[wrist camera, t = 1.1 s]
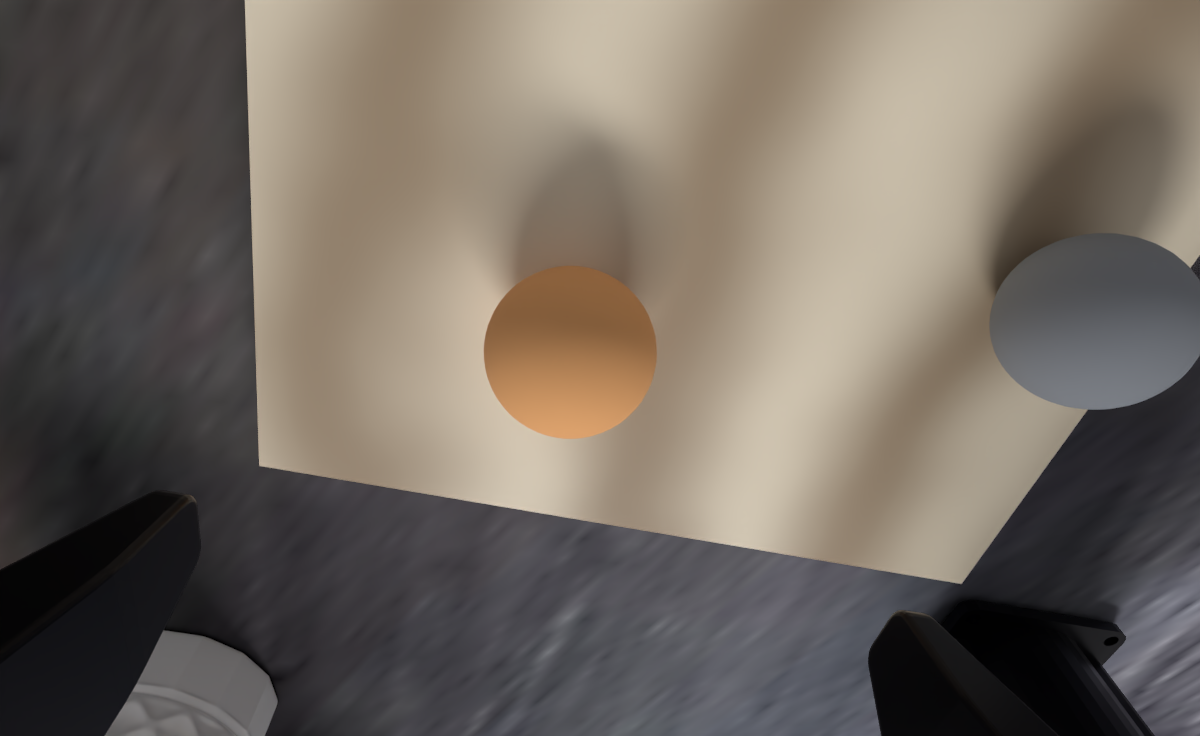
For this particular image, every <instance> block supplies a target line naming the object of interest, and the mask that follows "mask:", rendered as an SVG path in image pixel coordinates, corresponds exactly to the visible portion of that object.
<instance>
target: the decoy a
mask: <svg viewBox="0 0 1200 736" xmlns="http://www.w3.org/2000/svg"><path fill="white" fill-rule="evenodd" d="M989 329H990V338H991V342H992V345H993V349H994V352H995V354H996V356H997V358H998V360H999V362H1000V363H1001V365H1002V366H1003V368H1004V369H1005V370H1006V372H1007V373H1008V374H1009V375H1010V376H1011V377H1012V378H1013V379H1014V380H1015V381H1016V382H1017V383H1018V384H1019V385H1021V386H1022V387H1023V388H1025V389H1026V390H1028V391H1029V392H1031V393H1032V394H1034V395H1036V396H1038V397H1040V398H1042V399H1044V400H1047V401H1049V402H1052V403H1055V404H1058V405H1062V406H1065V407H1071V408H1078V409H1091V410H1103V409H1113V408H1119V407H1124V406H1129V405H1132V404H1136V403H1139V402H1142V401H1144V400H1147V399H1149V398H1151V397H1153V396H1155V395H1157V394H1159V393H1161V392H1163V391H1165V390H1166V389H1168V388H1169V387H1171V386H1172V385H1173V384H1175V383H1176V382H1177V381H1178V380H1180V379H1181V378H1182V377H1183V376H1184V375H1185V374H1186V373H1187V372H1188V371H1189V369H1190V368H1191V367H1192V366H1193V364H1194V363H1195V361H1196V360H1197V359H1198V357H1199V355H1200V280H1199V279H1198V277H1197V276H1196V275H1195V273H1194V272H1193V271H1192V270H1191V268H1190V267H1189V266H1188V265H1187V264H1186V263H1185V262H1184V261H1182V260H1181V259H1180V258H1179V257H1178V256H1176V255H1175V254H1174V253H1172V252H1171V251H1169V250H1167V249H1165V248H1163V247H1162V246H1160V245H1158V244H1156V243H1153V242H1150V241H1147V240H1145V239H1142V238H1139V237H1134V236H1128V235H1123V234H1116V233H1094V234H1084V235H1079V236H1074V237H1070V238H1066V239H1063V240H1060V241H1057V242H1054V243H1052V244H1050V245H1048V246H1045V247H1043V248H1041V249H1040V250H1038V251H1036V252H1034V253H1033V254H1031V255H1030V256H1028V257H1027V258H1025V259H1024V260H1023V261H1022V262H1021V263H1019V264H1018V265H1017V266H1016V267H1015V268H1014V269H1013V270H1012V271H1011V272H1010V274H1009V275H1008V276H1007V277H1006V278H1005V280H1004V281H1003V283H1002V284H1001V286H1000V288H999V290H998V292H997V294H996V296H995V299H994V301H993V304H992V308H991V312H990V321H989Z"/></svg>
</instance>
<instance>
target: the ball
mask: <svg viewBox="0 0 1200 736" xmlns="http://www.w3.org/2000/svg"><path fill="white" fill-rule="evenodd" d="M656 360H657V346H656V337H655V332H654V329H653V325H652V323H651V320H650V317H649V315H648V313H647V311H646V310H645V308H644V306H643V305H642V303H641V302H640V301H639V299H638V298H637V297H636V295H635V294H634V293H633V292H632V291H631V290H630V289H629V288H628V287H626V286H625V285H624V284H623V283H621V282H620V281H619V280H617V279H615V278H613V277H612V276H610V275H608V274H606V273H603V272H601V271H599V270H595V269H592V268H588V267H581V266H559V267H554V268H549V269H545V270H543V271H540V272H537V273H534V274H533V275H531V276H529V277H527V278H525V279H523V280H522V281H521V282H519V283H518V284H516V285H515V286H514V287H513V288H512V289H511V290H510V291H509V292H508V293H507V294H506V295H505V296H504V297H503V299H502V300H501V301H500V302H499V304H498V305H497V307H496V309H495V311H494V312H493V314H492V317H491V319H490V321H489V324H488V327H487V331H486V335H485V341H484V363H485V369H486V374H487V378H488V380H489V383H490V386H491V388H492V390H493V392H494V394H495V396H496V398H497V399H498V401H499V402H500V403H501V405H502V406H503V407H504V408H505V410H506V411H507V412H508V413H509V414H510V415H511V416H512V417H513V418H515V419H516V420H517V421H518V422H520V423H521V424H523V425H524V426H526V427H528V428H530V429H532V430H534V431H536V432H538V433H541V434H543V435H546V436H551V437H555V438H562V439H578V438H585V437H591V436H594V435H597V434H600V433H603V432H605V431H607V430H610V429H612V428H613V427H615V426H617V425H618V424H620V423H621V422H622V421H624V420H625V419H626V418H627V417H628V416H629V415H630V414H631V413H632V412H633V411H634V410H635V409H636V408H637V407H638V406H639V404H640V403H641V402H642V400H643V398H644V397H645V395H646V393H647V391H648V390H649V387H650V385H651V382H652V380H653V376H654V372H655V367H656Z"/></svg>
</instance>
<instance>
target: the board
mask: <svg viewBox="0 0 1200 736" xmlns="http://www.w3.org/2000/svg"><path fill="white" fill-rule="evenodd" d="M245 19H246V52H247V84H248V117H249V149H250V182H251V214H252V247H253V279H254V312H255V344H256V377H257V410H258V442H259V466H264V467H270V468H276V469H282V470H287V471H293V472H299V473H305V474H311V475H317V476H323V477H329V478H335V479H341V480H347V481H353V482H359V483H365V484H371V485H377V486H382V487H388V488H394V489H400V490H406V491H412V492H418V493H424V494H430V495H436V496H442V497H448V498H454V499H460V500H466V501H472V502H477V503H483V504H489V505H495V506H501V507H507V508H513V509H519V510H525V511H531V512H537V513H543V514H549V515H555V516H561V517H567V518H572V519H578V520H584V521H590V522H596V523H602V524H608V525H614V526H620V527H626V528H632V529H638V530H644V531H650V532H656V533H662V534H667V535H673V536H679V537H685V538H691V539H697V540H703V541H709V542H715V543H721V544H727V545H733V546H739V547H745V548H751V549H757V550H762V551H768V552H774V553H780V554H786V555H792V556H798V557H804V558H810V559H816V560H822V561H828V562H834V563H840V564H846V565H852V566H857V567H863V568H869V569H875V570H881V571H887V572H893V573H899V574H905V575H911V576H917V577H923V578H929V579H935V580H941V581H947V582H952V583H958V584H962V583H963V581H964V580H965V579H966V577H967V576H968V574H969V573H970V572H971V570H972V569H973V567H974V566H975V565H976V563H977V562H978V561H979V559H980V558H981V556H982V555H983V554H984V552H985V551H986V550H987V548H988V547H989V545H990V544H991V543H992V541H993V540H994V538H995V537H996V536H997V534H998V533H999V532H1000V530H1001V529H1002V527H1003V526H1004V525H1005V523H1006V522H1007V521H1008V519H1009V518H1010V516H1011V515H1012V514H1013V512H1014V511H1015V509H1016V508H1017V507H1018V505H1019V504H1020V503H1021V501H1022V500H1023V498H1024V497H1025V496H1026V494H1027V493H1028V492H1029V490H1030V489H1031V487H1032V486H1033V485H1034V483H1035V482H1036V480H1037V479H1038V478H1039V476H1040V475H1041V474H1042V472H1043V471H1044V469H1045V468H1046V467H1047V465H1048V464H1049V463H1050V461H1051V460H1052V458H1053V457H1054V456H1055V454H1056V453H1057V451H1058V450H1059V449H1060V447H1061V446H1062V445H1063V443H1064V442H1065V440H1066V439H1067V438H1068V436H1069V435H1070V434H1071V432H1072V431H1073V429H1074V428H1075V427H1076V425H1077V424H1078V422H1079V421H1080V420H1081V418H1082V417H1083V416H1084V414H1085V413H1086V411H1087V410H1088V409H1078V408H1071V407H1065V406H1062V405H1058V404H1055V403H1052V402H1049V401H1047V400H1044V399H1042V398H1040V397H1038V396H1036V395H1034V394H1032V393H1031V392H1029V391H1028V390H1026V389H1025V388H1023V387H1022V386H1021V385H1019V384H1018V383H1017V382H1016V381H1015V380H1014V379H1013V378H1012V377H1011V376H1010V375H1009V374H1008V373H1007V372H1006V370H1005V369H1004V368H1003V366H1002V365H1001V363H1000V362H999V360H998V358H997V356H996V354H995V352H994V349H993V345H992V342H991V338H990V329H989V321H990V312H991V308H992V304H993V301H994V299H995V296H996V294H997V292H998V290H999V288H1000V286H1001V284H1002V283H1003V281H1004V280H1005V278H1006V277H1007V276H1008V275H1009V274H1010V272H1011V271H1012V270H1013V269H1014V268H1015V267H1016V266H1017V265H1018V264H1019V263H1021V262H1022V261H1023V260H1024V259H1025V258H1027V257H1028V256H1030V255H1031V254H1033V253H1034V252H1036V251H1038V250H1040V249H1041V248H1043V247H1045V246H1048V245H1050V244H1052V243H1054V242H1057V241H1060V240H1063V239H1066V238H1070V237H1074V236H1079V235H1084V234H1094V233H1116V234H1123V235H1128V236H1134V237H1139V238H1142V239H1145V240H1147V241H1150V242H1153V243H1156V244H1158V245H1160V246H1162V247H1163V248H1165V249H1167V250H1169V251H1171V252H1172V253H1174V254H1175V255H1176V256H1178V257H1179V258H1180V259H1181V260H1182V261H1184V262H1185V263H1186V264H1187V265H1188V266H1189V267H1190V268H1191V266H1192V265H1193V264H1194V262H1195V261H1196V260H1197V258H1198V257H1199V255H1200V0H245ZM559 266H581V267H588V268H592V269H595V270H599V271H601V272H603V273H606V274H608V275H610V276H612V277H613V278H615V279H617V280H619V281H620V282H621V283H623V284H624V285H625V286H626V287H628V288H629V289H630V290H631V291H632V292H633V293H634V294H635V295H636V297H637V298H638V299H639V301H640V302H641V303H642V305H643V306H644V308H645V310H646V311H647V313H648V315H649V317H650V320H651V323H652V325H653V329H654V332H655V337H656V346H657V360H656V367H655V372H654V376H653V380H652V382H651V385H650V387H649V390H648V391H647V393H646V395H645V397H644V398H643V400H642V402H641V403H640V404H639V406H638V407H637V408H636V409H635V410H634V411H633V412H632V413H631V414H630V415H629V416H628V417H627V418H626V419H625V420H624V421H622V422H621V423H620V424H618V425H617V426H615V427H613V428H612V429H610V430H607V431H605V432H603V433H600V434H597V435H594V436H591V437H585V438H578V439H562V438H555V437H551V436H546V435H543V434H541V433H538V432H536V431H534V430H532V429H530V428H528V427H526V426H524V425H523V424H521V423H520V422H518V421H517V420H516V419H515V418H513V417H512V416H511V415H510V414H509V413H508V412H507V411H506V410H505V408H504V407H503V406H502V405H501V403H500V402H499V401H498V399H497V398H496V396H495V394H494V392H493V390H492V388H491V386H490V383H489V380H488V378H487V374H486V369H485V363H484V341H485V335H486V331H487V327H488V324H489V321H490V319H491V317H492V314H493V312H494V311H495V309H496V307H497V305H498V304H499V302H500V301H501V300H502V299H503V297H504V296H505V295H506V294H507V293H508V292H509V291H510V290H511V289H512V288H513V287H514V286H515V285H516V284H518V283H519V282H521V281H522V280H523V279H525V278H527V277H529V276H531V275H533V274H534V273H537V272H540V271H543V270H545V269H549V268H554V267H559Z"/></svg>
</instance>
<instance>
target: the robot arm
mask: <svg viewBox="0 0 1200 736" xmlns="http://www.w3.org/2000/svg"><path fill="white" fill-rule="evenodd" d="M200 549H201V539H200V529H199V518H198V508H197V502H196V500H195V498H194V497H193V496H191V495H188V494H182V493H176V492H170V491H164V490H157V491H153V492H151V493H148V494H146V495H144V496H142V497H140V498H139V499H137V500H135V501H133V502H131V503H129V504H127V505H125V506H123V507H121V508H119V509H117V510H115V511H113V512H111V513H109V514H107V515H105V516H104V517H102V518H100V519H98V520H96V521H94V522H92V523H90V524H88V525H86V526H84V527H82V528H80V529H78V530H76V531H74V532H72V533H70V534H69V535H67V536H65V537H63V538H61V539H59V540H57V541H55V542H53V543H51V544H49V545H47V546H45V547H43V548H41V549H39V550H37V551H35V552H34V553H32V554H30V555H28V556H26V557H24V558H22V559H20V560H18V561H16V562H14V563H12V564H10V565H8V566H6V567H4V568H2V569H1V570H0V736H105V735H106V733H107V731H108V730H109V728H110V727H111V725H112V723H113V722H114V720H115V719H116V717H117V716H118V714H119V712H120V711H121V709H122V708H123V706H124V704H125V703H126V701H127V699H128V698H129V696H130V694H131V693H132V691H133V689H134V687H135V686H136V684H137V682H138V680H139V678H140V676H141V674H142V672H143V670H144V669H145V667H146V665H147V663H148V661H149V659H150V657H151V655H152V653H153V651H154V649H155V646H156V644H157V642H158V640H159V638H160V636H161V634H162V632H163V630H164V628H165V626H166V624H167V622H168V620H169V618H170V616H171V614H172V612H173V610H174V608H175V606H176V604H177V602H178V600H179V598H180V596H181V594H182V592H183V590H184V588H185V586H186V584H187V582H188V580H189V578H190V576H191V574H192V572H193V570H194V568H195V566H196V563H197V561H198V558H199V554H200ZM1125 640H1126V636H1125V635H1124V634H1123V632H1122V631H1121V630H1120V629H1119V627H1118V626H1117V625H1116V624H1113V623H1109V622H1103V621H1097V620H1091V619H1085V618H1079V617H1073V616H1067V615H1061V614H1055V613H1049V612H1043V611H1037V610H1031V609H1025V608H1019V607H1013V606H1006V605H1000V604H994V603H988V602H982V601H976V600H968V601H964V602H962V603H960V604H958V605H957V606H956V607H955V608H954V610H953V611H952V612H951V614H950V615H949V616H948V618H947V619H946V620H945V622H944V623H943V624H942V626H941V625H940V624H939V623H938V622H937V621H935V620H934V619H933V618H932V617H930V616H929V615H926V614H924V613H917V612H911V611H905V610H899V611H897V612H895V613H893V615H892V616H891V617H890V619H889V620H888V622H887V623H886V625H885V626H884V628H883V629H882V631H881V632H880V634H879V635H878V637H877V638H876V640H875V641H874V643H873V644H872V646H871V648H870V651H869V657H868V665H869V672H870V677H871V682H872V688H873V693H874V699H875V704H876V710H877V715H878V720H879V726H880V731H881V736H1154V734H1153V733H1152V732H1151V730H1150V729H1149V728H1148V726H1147V725H1146V724H1145V722H1144V721H1143V720H1142V718H1141V717H1140V716H1139V714H1138V713H1137V712H1136V710H1135V709H1134V708H1133V706H1132V705H1131V704H1130V702H1129V701H1128V700H1127V698H1126V697H1125V696H1124V694H1123V693H1122V692H1121V690H1120V689H1119V688H1118V686H1117V685H1116V684H1115V682H1114V681H1113V680H1112V678H1111V677H1110V676H1109V674H1108V673H1107V672H1106V670H1105V669H1104V668H1103V666H1102V665H1103V664H1104V663H1105V662H1106V661H1107V660H1108V659H1109V658H1110V657H1111V656H1112V655H1113V654H1114V652H1115V651H1116V650H1117V649H1118V648H1119V647H1120V646H1121V645H1122V644H1123V643H1124V641H1125Z"/></svg>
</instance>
